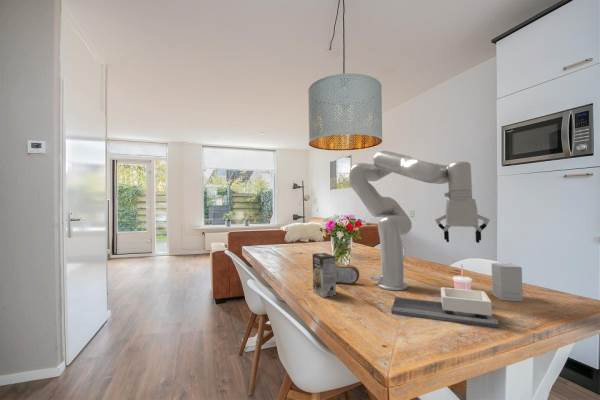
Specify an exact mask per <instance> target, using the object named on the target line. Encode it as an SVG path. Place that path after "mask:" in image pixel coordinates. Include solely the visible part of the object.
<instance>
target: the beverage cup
mask: <svg viewBox="0 0 600 400" xmlns="http://www.w3.org/2000/svg"><path fill="white" fill-rule="evenodd" d="M460 267H461V268H460V270H461V271H460V273H461V274H460V275H455V276H452V280H453V285H454V289H465V290H472V281H473V279H472V278H471V277H468V276H464V271H463V269H464V268H463V267H464V265H463V264H461V265H460Z"/></svg>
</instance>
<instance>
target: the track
mask: <svg viewBox="0 0 600 400" xmlns="http://www.w3.org/2000/svg"><path fill="white" fill-rule="evenodd" d="M390 311H391V313H390V314H391V315H401V316H406V317H415V318H422V319H428V320H438V321H443V322H444V321H445V322H452V323H458V324H466V325H474V326H482V327H488V328H496V329H499V319H496V318H495V317H494V315H493V314H492V316H490V315H487V319H486V318H480V317H479V314H473V313H465V312H457V311H453V314H447V313H446V310H443V308H442V302H441V301H436V300H429V299H428V300H427V299H418V298H409V297H401V296H394V301H393V304H392V306H391V310H390Z"/></svg>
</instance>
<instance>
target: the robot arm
mask: <svg viewBox="0 0 600 400" xmlns="http://www.w3.org/2000/svg"><path fill="white" fill-rule="evenodd" d="M391 173H394V174H396V175H397V174H398V175H400V176H402V177H406V178H410V179H413V180H417V181H419V182H423V183H428V184H438V185H444V184H447V185H448V192H445V193H444V197H446V198H448V199H446V204H445V205H446V206H445V214H444V215H442V216H440V217H438V218H435V222H436V224H437V226H438V227H439V228H440V229H441V230H442V231H443V238H444V240H446V243H449V242H450V236H449V235H450V232H449V229H450V228H451V227H454V228H456V227H460V228H461V227H466V228H468V227H469V228H470V227H471V228H472V227H473V228H474V229H475V231H474V232H475V242H476V243H477V244H479V243H480V241H482V232H483V230H484V229H486V228H487V226H488V224H489V222H490V219H489V218H487V217H485V216H483V215H480V214H479V213H478V205H477V201H476V199H475V198H473V187H472V186H473V185H472V184H473V183H472V165H471V163H470V162H469V161H455V162H451V163H449V164H439V163H434V162H430V161H429V162H428V161H425V160H420V159H416V158H413V157H411V156H410V155H405V154H402V153H397V152H394V151H390V150H389V151H388V150H380V151H377V152H376V153H374V156H373V158H372V163H364V162H359V163H355V164H354V165H352V166H351V168H350V170H349V173H348V181H349V184H350V186H351V188H352V190H353V191H354V192H355V193H356V195H357V196H358V197H359V199H360V200H361V203H363V205H364V206H365V208H366V209H367V210H368V213H370V214H371V216H373V217H375V218H380V219H379V221H378V224H377V231H378V236H379V237H378V238H379V244H380V247H379V248H380V275H374V274H372V275H371V276H370V277H371V280H372V281H375V282H377V281H378V282H377V286H378V287H379V288H380V289H382V290H383V289H384V290H388V291H404V290H406V289H408V287H409V286H408V283H407V282H405V279H404V278H405V276H404V275H405V274H404V246H403V245H404V244H403V241H402V237H401V236H404V235H407V234H409V233H410V231H411V230H412V228H413V227H412V225H413V224H412V223H413V222H412V221H411V219H410V217H409V216H408V214H407V213H406V212H405V210H404V209H403V208H402V207H401V205H400V204H399V202H397V200H395V199H394V198H392V197H389V196H382V195H381V194H380V193H379V192H378V191H377V189H376V187H375V186H373V185H372V184H371V183H370V182H377V181H379V180H382V179H383V178H384V177H387V176H388V175H390V174H391ZM443 220H445V223H446V224H445V226H444V225H443V224H442V223H441V221H443ZM479 220H481V221H483V223H482V224H481V225H479Z"/></svg>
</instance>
